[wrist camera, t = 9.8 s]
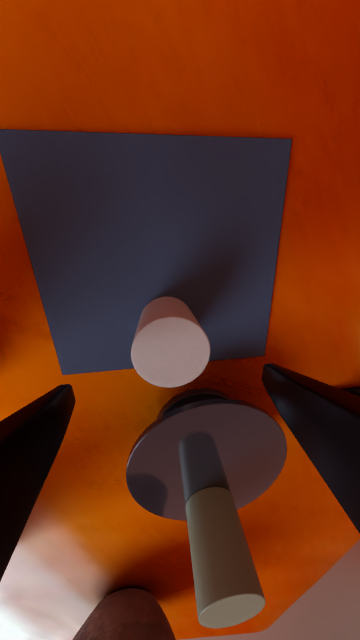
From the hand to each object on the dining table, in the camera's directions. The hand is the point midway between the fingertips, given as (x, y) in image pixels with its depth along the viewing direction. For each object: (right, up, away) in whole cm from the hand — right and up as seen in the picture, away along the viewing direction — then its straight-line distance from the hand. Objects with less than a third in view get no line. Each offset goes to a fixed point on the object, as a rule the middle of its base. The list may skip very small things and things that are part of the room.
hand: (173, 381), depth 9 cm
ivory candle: (-1, +3, +8) cm, 9 cm away
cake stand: (+2, -9, +13) cm, 16 cm away
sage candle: (+3, -15, +10) cm, 18 cm away
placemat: (-1, +7, +7) cm, 10 cm away
